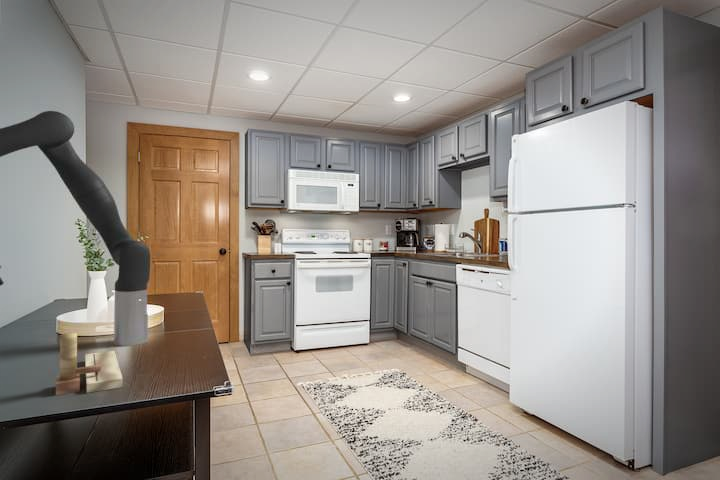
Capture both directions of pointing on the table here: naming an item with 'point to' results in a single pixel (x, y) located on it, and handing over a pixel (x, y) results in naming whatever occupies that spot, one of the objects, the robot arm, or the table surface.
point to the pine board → (103, 372)
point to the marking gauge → (71, 366)
